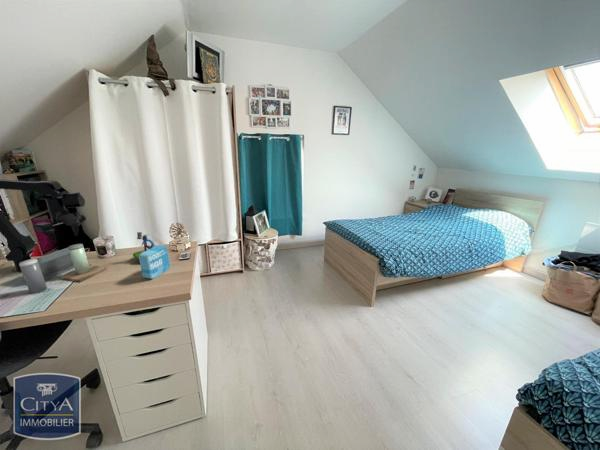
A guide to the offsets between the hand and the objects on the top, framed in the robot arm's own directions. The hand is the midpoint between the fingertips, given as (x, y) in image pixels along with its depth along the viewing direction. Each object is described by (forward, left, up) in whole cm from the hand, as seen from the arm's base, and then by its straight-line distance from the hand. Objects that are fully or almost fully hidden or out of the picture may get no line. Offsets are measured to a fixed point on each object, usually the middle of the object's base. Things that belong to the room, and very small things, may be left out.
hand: (66, 239), depth 120 cm
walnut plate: (+16, -7, -13) cm, 22 cm away
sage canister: (+16, -7, -12) cm, 21 cm away
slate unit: (+2, -8, -13) cm, 15 cm away
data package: (+48, +2, -13) cm, 50 cm away
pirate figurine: (+32, +14, -13) cm, 37 cm away
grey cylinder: (+12, -22, -13) cm, 28 cm away
